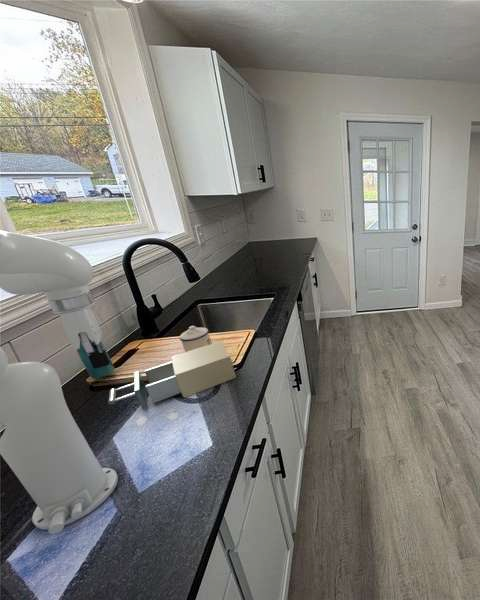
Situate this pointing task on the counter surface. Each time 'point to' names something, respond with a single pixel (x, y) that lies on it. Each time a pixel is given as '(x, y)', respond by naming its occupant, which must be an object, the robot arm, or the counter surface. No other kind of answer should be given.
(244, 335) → the counter surface
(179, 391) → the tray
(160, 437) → the counter surface
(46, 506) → the robot arm
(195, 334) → the teacup with lid
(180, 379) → the drawer cabinet
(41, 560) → the counter surface
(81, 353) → the beverage bottle
